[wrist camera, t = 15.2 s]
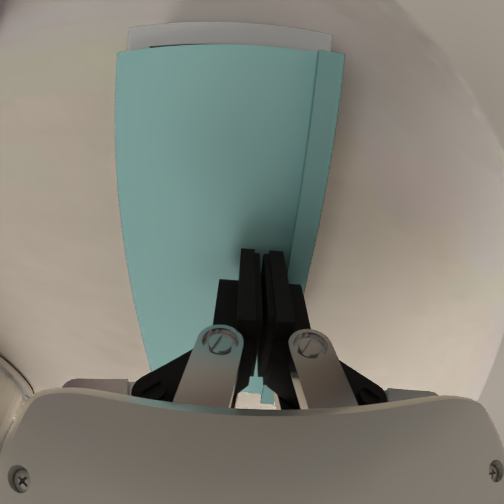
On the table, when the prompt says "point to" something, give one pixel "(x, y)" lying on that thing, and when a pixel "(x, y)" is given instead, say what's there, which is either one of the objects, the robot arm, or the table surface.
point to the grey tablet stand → (226, 35)
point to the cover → (218, 175)
